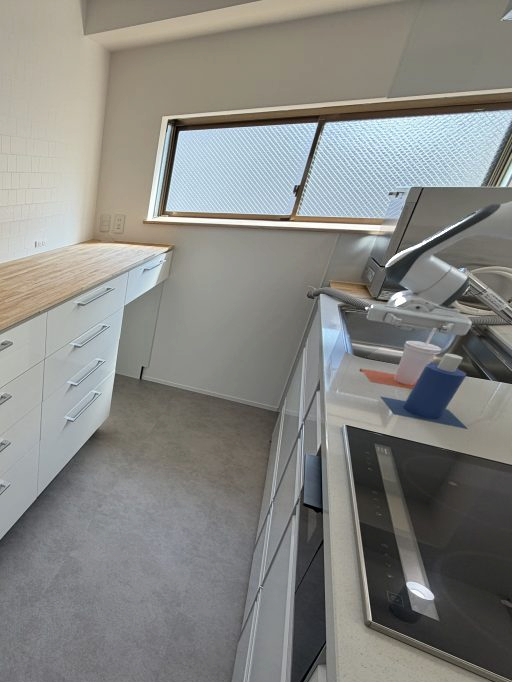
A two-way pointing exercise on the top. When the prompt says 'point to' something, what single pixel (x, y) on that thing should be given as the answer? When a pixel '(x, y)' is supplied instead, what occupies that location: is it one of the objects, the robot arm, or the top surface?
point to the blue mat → (398, 409)
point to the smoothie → (415, 360)
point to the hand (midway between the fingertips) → (420, 325)
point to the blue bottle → (435, 387)
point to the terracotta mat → (385, 378)
